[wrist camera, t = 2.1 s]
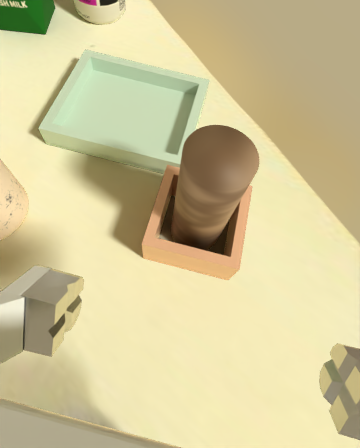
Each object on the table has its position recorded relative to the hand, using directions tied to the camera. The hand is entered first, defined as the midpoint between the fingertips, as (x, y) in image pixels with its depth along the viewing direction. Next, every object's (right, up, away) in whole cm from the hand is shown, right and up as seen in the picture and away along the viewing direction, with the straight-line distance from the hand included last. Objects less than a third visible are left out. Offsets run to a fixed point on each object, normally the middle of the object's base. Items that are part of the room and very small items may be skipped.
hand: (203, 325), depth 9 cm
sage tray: (-7, +18, +30) cm, 36 cm away
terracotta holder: (+1, +3, +24) cm, 24 cm away
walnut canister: (+1, +3, +24) cm, 24 cm away
